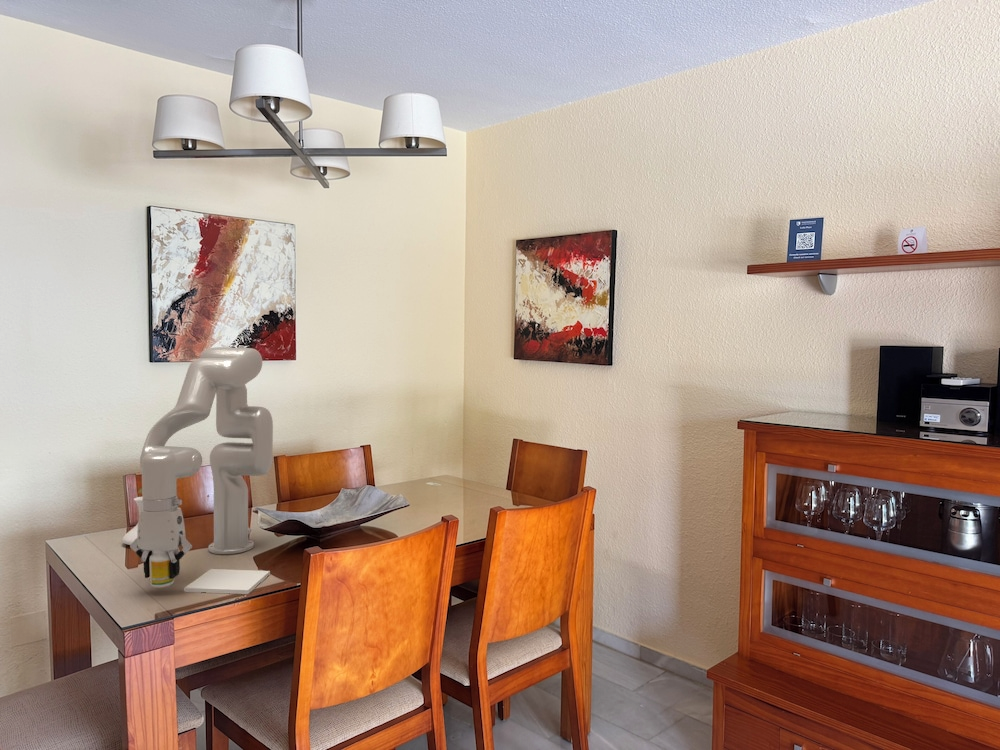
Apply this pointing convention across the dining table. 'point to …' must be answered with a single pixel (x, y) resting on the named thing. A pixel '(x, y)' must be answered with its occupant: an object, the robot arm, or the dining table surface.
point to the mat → (227, 581)
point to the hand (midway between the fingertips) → (161, 575)
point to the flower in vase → (132, 533)
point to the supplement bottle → (160, 569)
